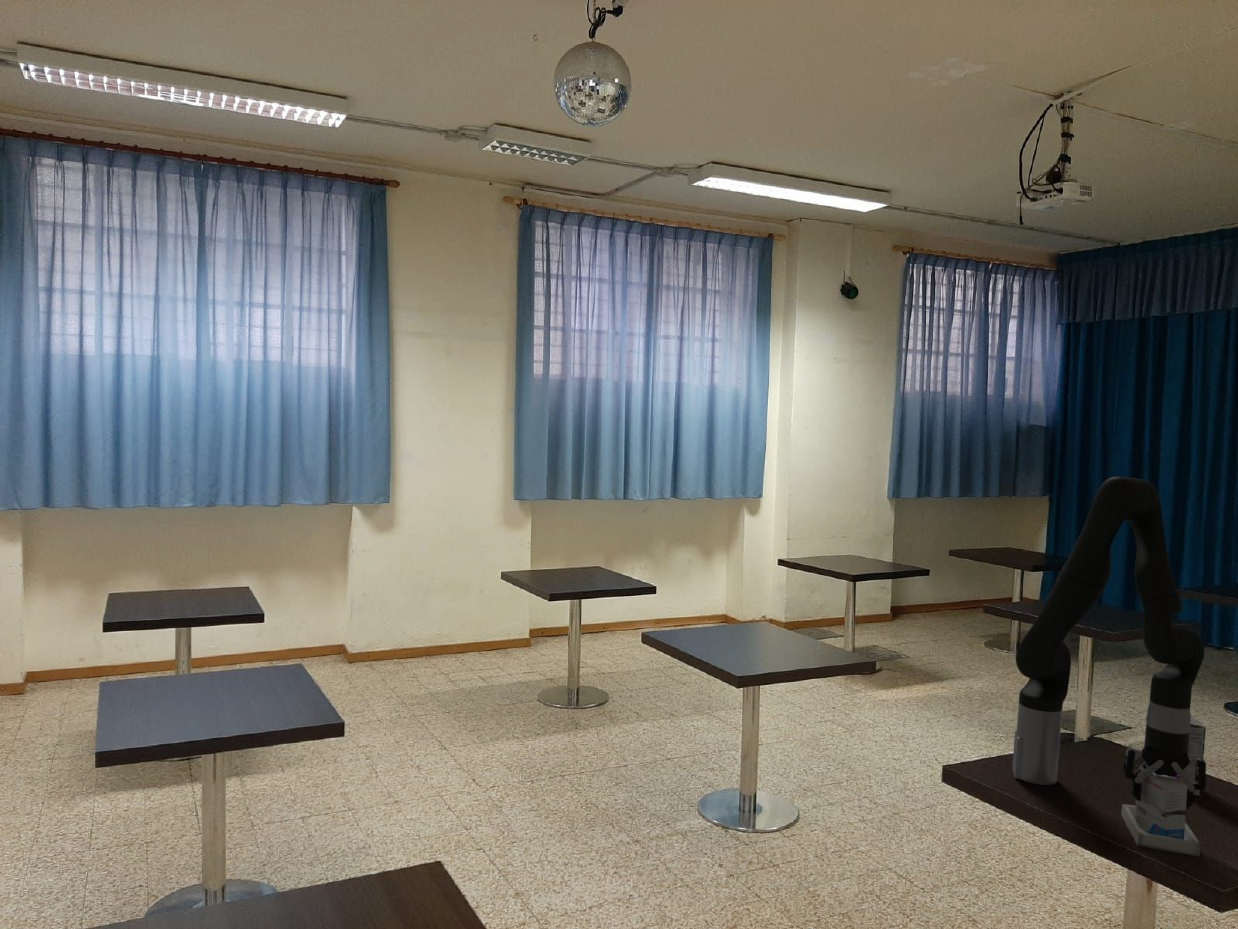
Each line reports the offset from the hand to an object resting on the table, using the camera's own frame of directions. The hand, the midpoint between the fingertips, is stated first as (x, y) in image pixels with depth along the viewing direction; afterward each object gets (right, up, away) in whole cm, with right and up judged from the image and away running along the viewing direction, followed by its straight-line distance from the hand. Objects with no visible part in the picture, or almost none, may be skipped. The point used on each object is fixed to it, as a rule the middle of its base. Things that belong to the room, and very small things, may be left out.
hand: (1161, 803), depth 179 cm
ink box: (0, -6, 0) cm, 6 cm away
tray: (0, -7, 0) cm, 7 cm away
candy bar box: (+21, -6, +27) cm, 34 cm away
